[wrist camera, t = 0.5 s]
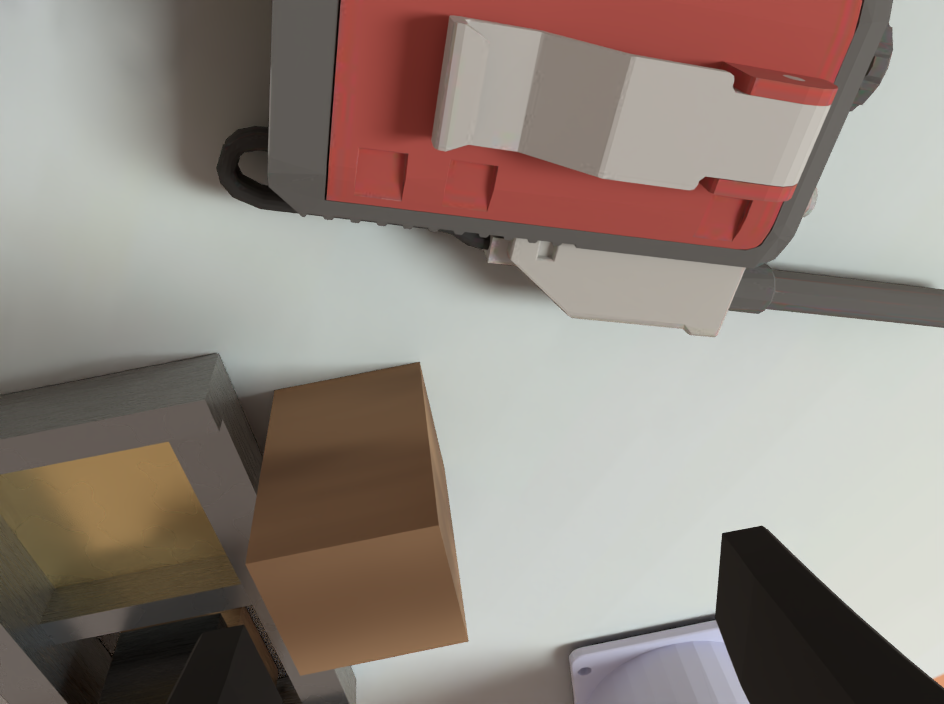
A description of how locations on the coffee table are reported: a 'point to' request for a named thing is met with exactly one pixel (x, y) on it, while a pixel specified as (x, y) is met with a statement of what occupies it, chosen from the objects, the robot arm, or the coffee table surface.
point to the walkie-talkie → (583, 142)
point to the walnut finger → (356, 523)
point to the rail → (130, 537)
